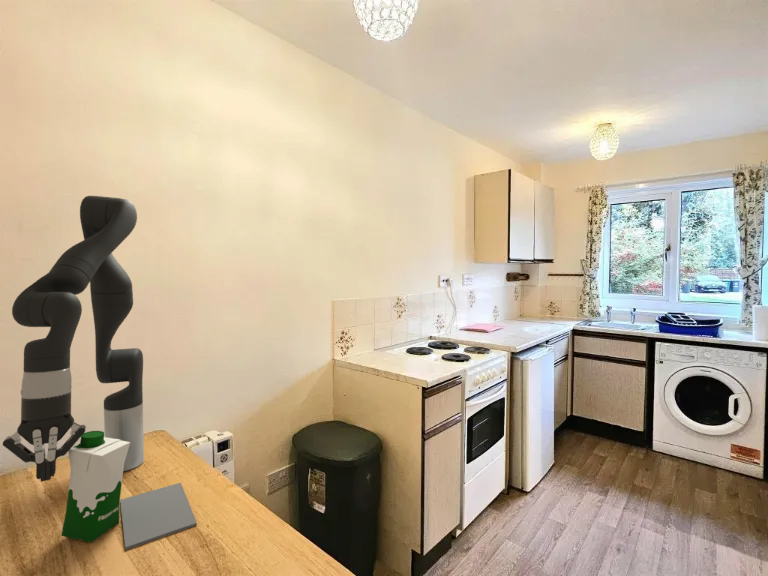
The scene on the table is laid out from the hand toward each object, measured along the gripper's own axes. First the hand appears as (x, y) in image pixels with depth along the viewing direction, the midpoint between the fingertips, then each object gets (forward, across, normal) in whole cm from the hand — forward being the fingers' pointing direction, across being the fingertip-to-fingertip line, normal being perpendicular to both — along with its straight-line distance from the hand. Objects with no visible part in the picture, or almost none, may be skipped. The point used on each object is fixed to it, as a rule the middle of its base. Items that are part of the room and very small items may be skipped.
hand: (45, 479), depth 77 cm
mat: (+13, -19, -1) cm, 24 cm away
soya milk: (+13, -7, -2) cm, 15 cm away
